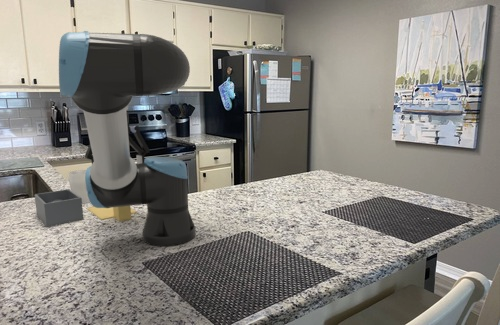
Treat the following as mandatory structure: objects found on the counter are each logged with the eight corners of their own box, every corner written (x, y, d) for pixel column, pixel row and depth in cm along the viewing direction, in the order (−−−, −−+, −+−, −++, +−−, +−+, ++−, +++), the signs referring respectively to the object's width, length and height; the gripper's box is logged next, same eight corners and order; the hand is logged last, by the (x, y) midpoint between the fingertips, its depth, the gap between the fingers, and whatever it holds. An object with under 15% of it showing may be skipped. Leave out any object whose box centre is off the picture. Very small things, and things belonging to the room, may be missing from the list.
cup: (100, 199, 150) (98, 170, 148) (89, 206, 141) (86, 175, 139) (79, 199, 151) (76, 169, 149) (66, 205, 142) (63, 174, 140)
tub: (83, 221, 125) (81, 197, 124) (46, 228, 118) (44, 204, 117) (71, 210, 136) (69, 189, 135) (37, 216, 130) (34, 194, 128)
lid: (143, 217, 128) (141, 195, 127) (106, 225, 121) (104, 201, 119) (120, 204, 144) (118, 183, 143) (86, 210, 137) (85, 189, 135)
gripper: (147, 110, 130) (151, 170, 133) (70, 112, 114) (76, 181, 118) (157, 110, 124) (160, 173, 128) (77, 113, 109) (83, 185, 112)
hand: (120, 177), depth 123 cm, fingers open, 13 cm apart
